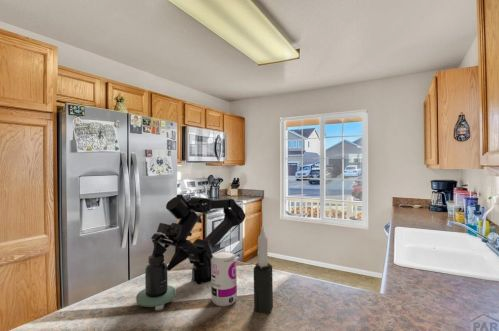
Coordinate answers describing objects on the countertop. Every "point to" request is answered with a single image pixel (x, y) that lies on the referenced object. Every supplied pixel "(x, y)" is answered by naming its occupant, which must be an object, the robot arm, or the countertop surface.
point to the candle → (263, 278)
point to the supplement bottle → (156, 276)
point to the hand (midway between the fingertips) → (159, 266)
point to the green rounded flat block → (155, 299)
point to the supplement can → (223, 278)
